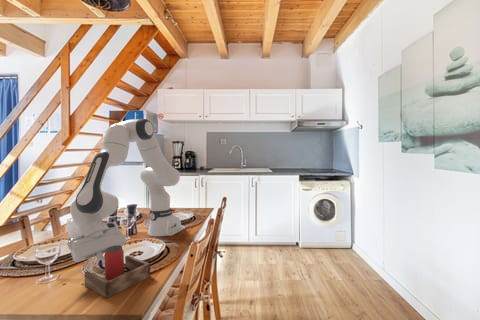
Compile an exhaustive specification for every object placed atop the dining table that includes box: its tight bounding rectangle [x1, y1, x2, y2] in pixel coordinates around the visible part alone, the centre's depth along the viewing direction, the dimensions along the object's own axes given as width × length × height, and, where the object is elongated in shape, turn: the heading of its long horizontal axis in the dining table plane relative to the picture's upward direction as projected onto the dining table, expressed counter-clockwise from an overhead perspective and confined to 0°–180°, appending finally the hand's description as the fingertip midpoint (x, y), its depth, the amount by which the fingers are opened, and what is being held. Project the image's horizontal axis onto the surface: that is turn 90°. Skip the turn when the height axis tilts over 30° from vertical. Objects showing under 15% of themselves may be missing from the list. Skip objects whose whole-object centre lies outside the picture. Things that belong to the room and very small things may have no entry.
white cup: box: [66, 217, 81, 239], centre depth 144 cm, size 8×8×10 cm
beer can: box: [103, 246, 125, 281], centre depth 97 cm, size 7×7×12 cm
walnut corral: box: [84, 255, 151, 299], centre depth 96 cm, size 17×14×5 cm
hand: (108, 261), depth 100 cm, fingers closed
